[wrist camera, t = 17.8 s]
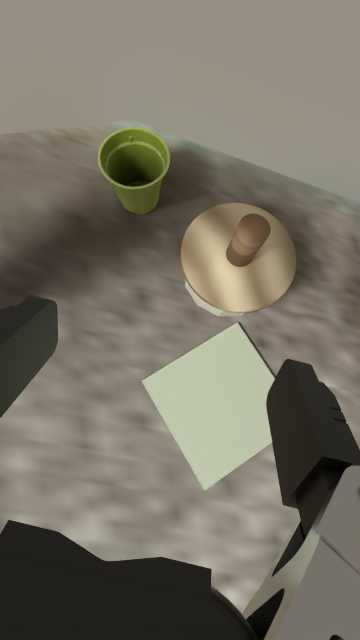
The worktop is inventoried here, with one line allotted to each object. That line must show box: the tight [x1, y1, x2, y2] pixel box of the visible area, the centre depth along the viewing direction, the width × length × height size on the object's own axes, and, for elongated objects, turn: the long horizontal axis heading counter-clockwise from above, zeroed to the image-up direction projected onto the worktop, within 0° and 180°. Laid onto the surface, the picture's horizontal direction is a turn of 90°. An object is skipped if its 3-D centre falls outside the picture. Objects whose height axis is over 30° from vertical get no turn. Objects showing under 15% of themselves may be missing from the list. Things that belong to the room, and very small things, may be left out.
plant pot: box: [98, 127, 170, 215], centre depth 42 cm, size 9×9×9 cm
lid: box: [181, 203, 297, 313], centre depth 34 cm, size 15×15×8 cm
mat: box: [142, 323, 275, 490], centre depth 39 cm, size 16×16×1 cm
